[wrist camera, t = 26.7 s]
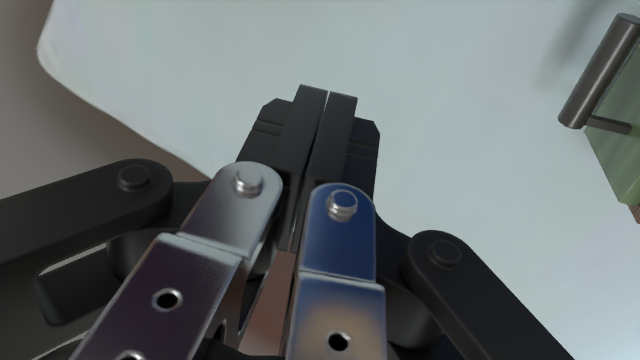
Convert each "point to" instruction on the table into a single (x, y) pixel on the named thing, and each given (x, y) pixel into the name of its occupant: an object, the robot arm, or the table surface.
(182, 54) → the table surface
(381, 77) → the table surface
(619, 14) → the green open box
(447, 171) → the table surface
